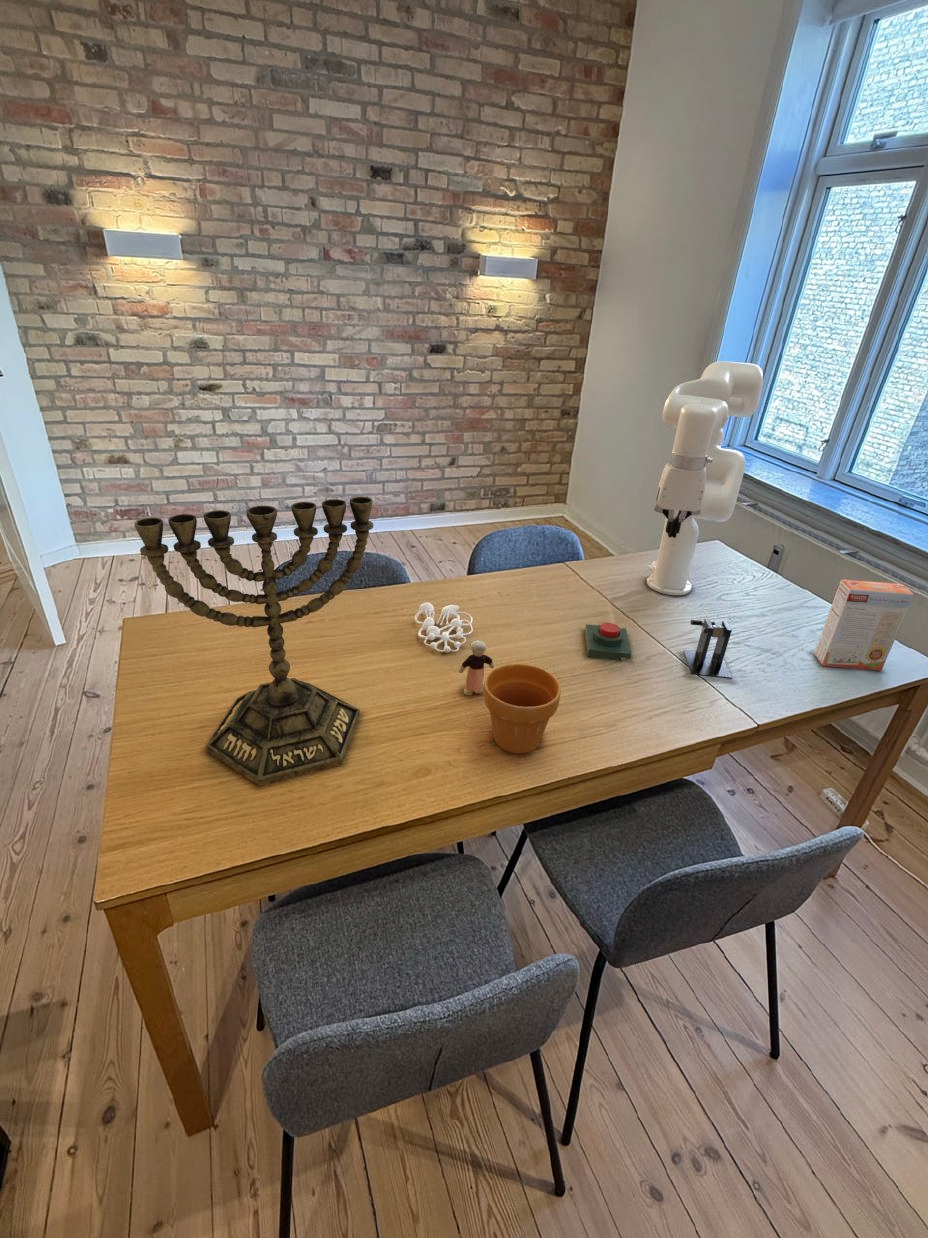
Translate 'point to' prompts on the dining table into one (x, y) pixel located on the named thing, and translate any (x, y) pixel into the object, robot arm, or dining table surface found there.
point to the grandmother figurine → (476, 668)
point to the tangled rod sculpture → (434, 631)
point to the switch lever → (716, 628)
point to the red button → (609, 630)
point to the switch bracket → (710, 662)
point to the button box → (606, 644)
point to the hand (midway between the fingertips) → (671, 535)
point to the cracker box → (862, 624)
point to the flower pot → (520, 704)
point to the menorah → (285, 708)
